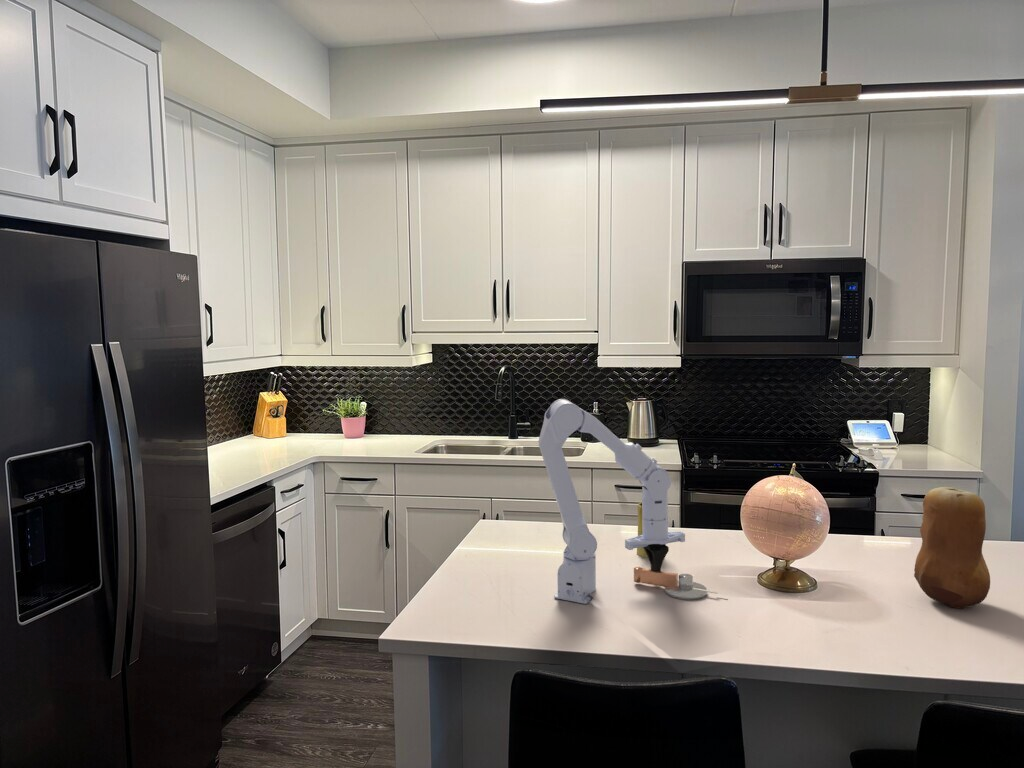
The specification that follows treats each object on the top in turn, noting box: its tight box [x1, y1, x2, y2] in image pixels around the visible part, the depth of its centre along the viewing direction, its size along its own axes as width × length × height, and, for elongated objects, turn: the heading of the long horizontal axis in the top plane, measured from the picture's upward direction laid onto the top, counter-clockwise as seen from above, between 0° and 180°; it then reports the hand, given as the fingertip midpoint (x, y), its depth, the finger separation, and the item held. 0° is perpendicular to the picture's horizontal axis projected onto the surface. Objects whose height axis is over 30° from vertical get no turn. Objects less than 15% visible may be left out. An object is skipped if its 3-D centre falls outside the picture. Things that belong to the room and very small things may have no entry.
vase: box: [636, 502, 648, 558], centre depth 188 cm, size 6×6×14 cm
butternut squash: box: [913, 486, 991, 610], centre depth 155 cm, size 14×13×25 cm
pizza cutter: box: [633, 566, 719, 601], centre depth 163 cm, size 19×9×4 cm, turn 60°
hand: (655, 575), depth 167 cm, fingers closed, pressing on pizza cutter
